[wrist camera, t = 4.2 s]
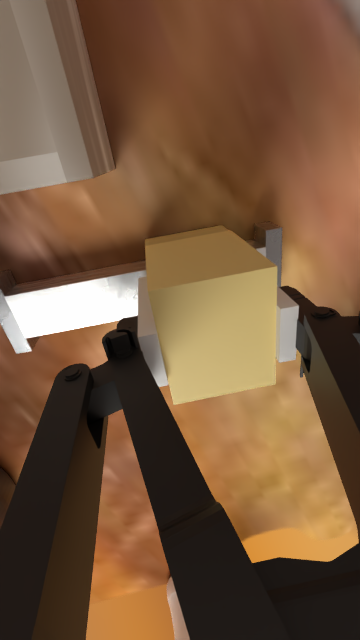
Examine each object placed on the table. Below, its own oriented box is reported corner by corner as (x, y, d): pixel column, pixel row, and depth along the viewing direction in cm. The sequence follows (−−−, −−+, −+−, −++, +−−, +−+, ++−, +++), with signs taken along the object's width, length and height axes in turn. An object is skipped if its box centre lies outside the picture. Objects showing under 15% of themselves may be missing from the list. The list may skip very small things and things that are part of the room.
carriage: (161, 319, 21) (173, 405, 14) (144, 237, 18) (147, 291, 11) (228, 306, 21) (275, 384, 14) (221, 223, 18) (277, 266, 11)
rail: (26, 337, 21) (16, 353, 19) (-6, 272, 18) (-21, 284, 17) (269, 290, 21) (280, 302, 20) (269, 221, 19) (282, 227, 17)
